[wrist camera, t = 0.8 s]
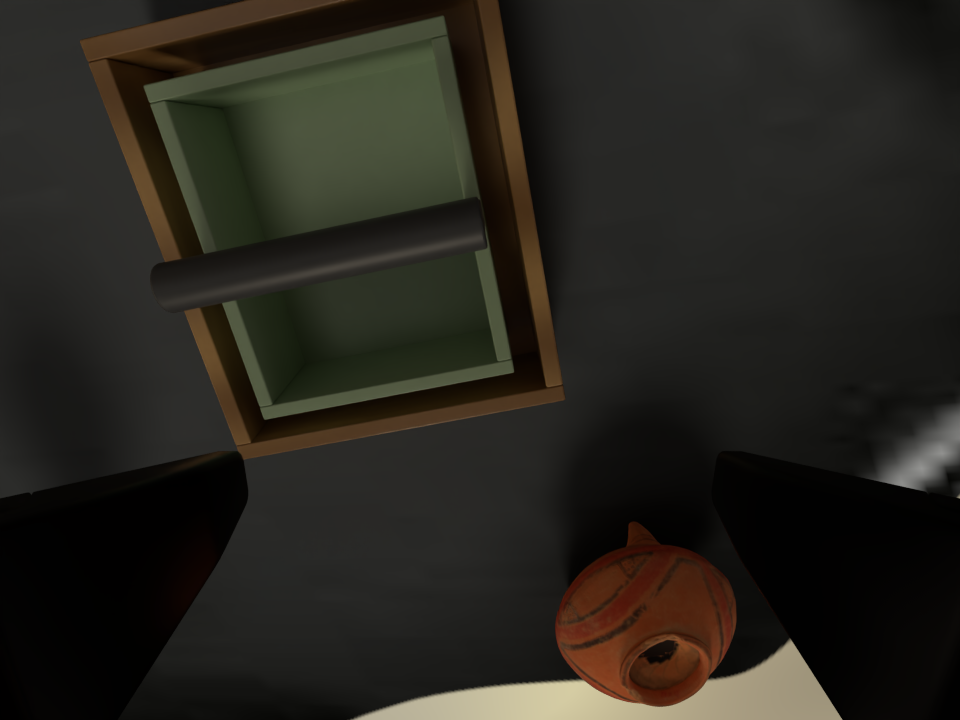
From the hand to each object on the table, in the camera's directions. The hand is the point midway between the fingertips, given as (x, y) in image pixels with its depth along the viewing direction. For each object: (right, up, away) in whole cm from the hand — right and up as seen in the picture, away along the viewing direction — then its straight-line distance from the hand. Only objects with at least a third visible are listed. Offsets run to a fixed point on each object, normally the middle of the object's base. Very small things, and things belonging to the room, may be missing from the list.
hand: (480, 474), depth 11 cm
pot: (+7, -8, +18) cm, 21 cm away
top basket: (-4, +8, +12) cm, 15 cm away
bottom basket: (-4, +8, +12) cm, 15 cm away
